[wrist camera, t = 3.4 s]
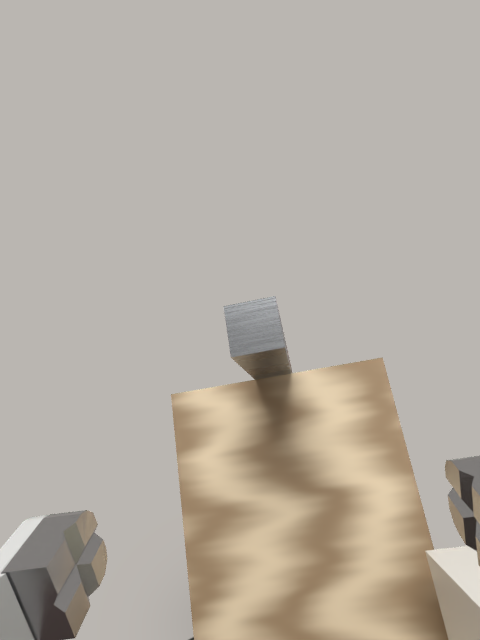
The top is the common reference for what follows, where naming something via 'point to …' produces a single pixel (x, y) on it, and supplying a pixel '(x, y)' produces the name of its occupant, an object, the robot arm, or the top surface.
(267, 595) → the stand
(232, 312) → the brown and gray bar
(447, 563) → the block
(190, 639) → the top surface
